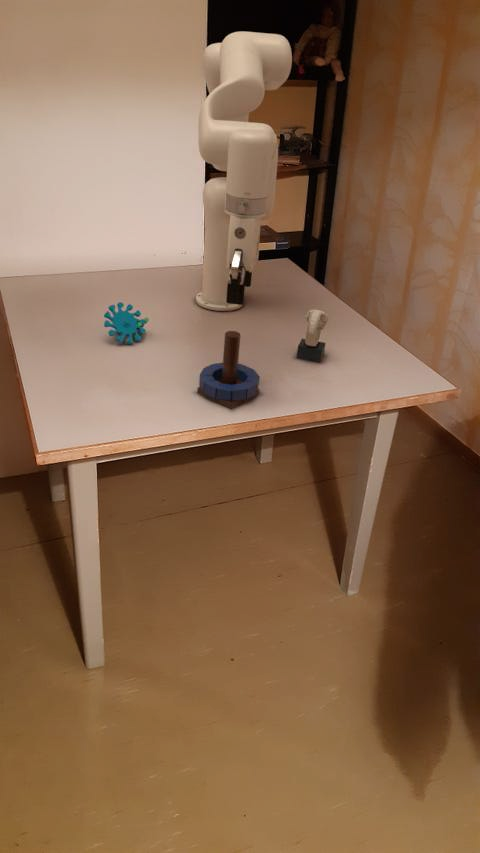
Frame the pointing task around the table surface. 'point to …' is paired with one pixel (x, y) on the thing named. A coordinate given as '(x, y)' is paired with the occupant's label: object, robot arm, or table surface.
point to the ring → (227, 390)
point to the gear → (125, 323)
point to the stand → (229, 368)
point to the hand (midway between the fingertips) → (238, 294)
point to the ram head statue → (313, 337)
